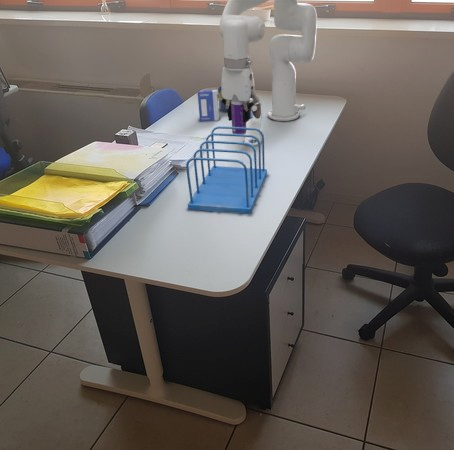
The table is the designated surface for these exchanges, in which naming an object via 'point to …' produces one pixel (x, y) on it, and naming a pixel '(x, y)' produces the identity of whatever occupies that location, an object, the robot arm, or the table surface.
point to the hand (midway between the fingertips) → (238, 119)
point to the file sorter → (227, 179)
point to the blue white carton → (208, 105)
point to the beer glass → (254, 123)
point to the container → (237, 115)
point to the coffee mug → (221, 105)
